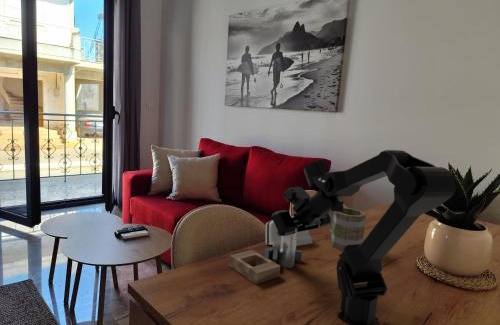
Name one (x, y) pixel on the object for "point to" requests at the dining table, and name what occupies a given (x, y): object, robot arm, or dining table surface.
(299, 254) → the v block
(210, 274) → the dining table surface
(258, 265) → the rectangular block with hole
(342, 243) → the mug
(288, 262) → the axle
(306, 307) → the dining table surface
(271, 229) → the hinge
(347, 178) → the robot arm
